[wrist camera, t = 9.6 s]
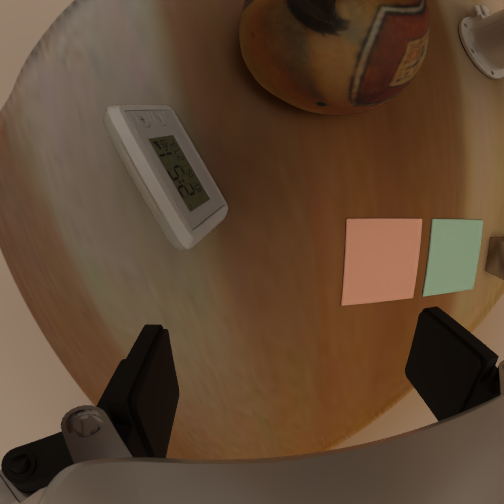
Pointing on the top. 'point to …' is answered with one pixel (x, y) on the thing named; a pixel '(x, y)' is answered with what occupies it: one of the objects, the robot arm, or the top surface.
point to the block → (496, 257)
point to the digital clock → (166, 171)
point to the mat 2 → (452, 255)
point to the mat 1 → (380, 259)
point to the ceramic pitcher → (334, 50)
